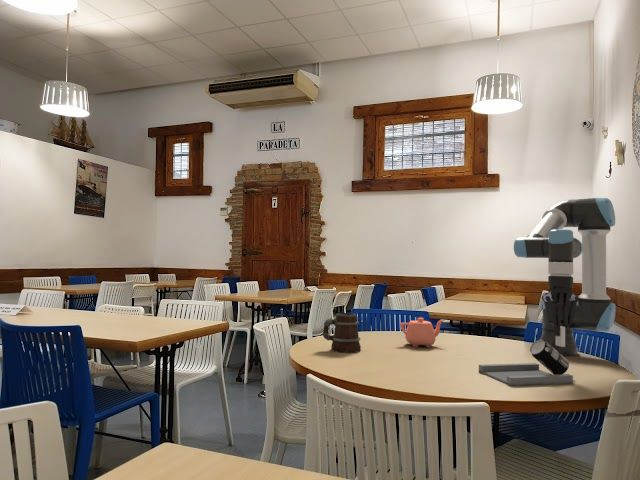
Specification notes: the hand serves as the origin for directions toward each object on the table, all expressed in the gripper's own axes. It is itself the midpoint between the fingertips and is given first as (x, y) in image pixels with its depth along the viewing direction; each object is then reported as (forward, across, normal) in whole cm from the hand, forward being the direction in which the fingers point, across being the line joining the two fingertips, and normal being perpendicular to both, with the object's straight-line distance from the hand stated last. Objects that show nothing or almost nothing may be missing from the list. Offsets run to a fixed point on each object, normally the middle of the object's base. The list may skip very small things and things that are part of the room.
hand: (560, 345), depth 159 cm
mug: (+10, +62, -51) cm, 81 cm away
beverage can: (+8, -1, 0) cm, 8 cm away
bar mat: (+10, +14, 0) cm, 17 cm away
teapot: (+10, +23, -58) cm, 63 cm away
